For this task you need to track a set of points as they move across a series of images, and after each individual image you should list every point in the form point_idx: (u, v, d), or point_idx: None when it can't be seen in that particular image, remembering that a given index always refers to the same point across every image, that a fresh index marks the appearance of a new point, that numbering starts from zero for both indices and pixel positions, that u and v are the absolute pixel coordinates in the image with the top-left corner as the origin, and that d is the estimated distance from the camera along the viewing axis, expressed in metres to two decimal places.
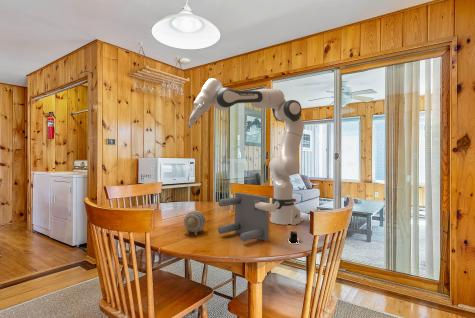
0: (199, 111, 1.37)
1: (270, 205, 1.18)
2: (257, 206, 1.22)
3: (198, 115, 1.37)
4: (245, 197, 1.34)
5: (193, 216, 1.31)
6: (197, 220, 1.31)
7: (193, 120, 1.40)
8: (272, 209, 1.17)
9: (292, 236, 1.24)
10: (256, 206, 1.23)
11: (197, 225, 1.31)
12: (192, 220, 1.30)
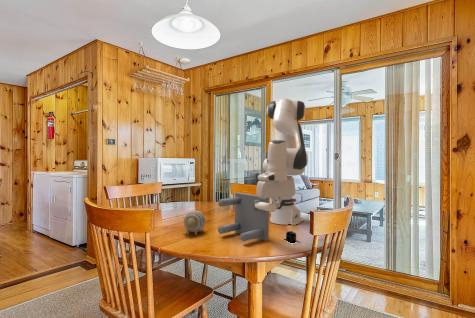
0: None
1: (270, 205, 1.18)
2: (257, 206, 1.22)
3: None
4: (245, 197, 1.34)
5: (193, 216, 1.31)
6: (197, 220, 1.31)
7: None
8: (272, 209, 1.17)
9: (292, 236, 1.23)
10: (256, 206, 1.23)
11: (197, 225, 1.31)
12: (192, 220, 1.30)
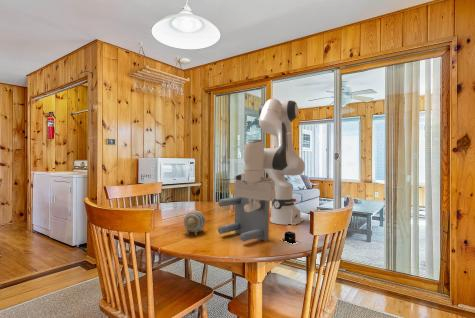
0: (273, 192, 1.10)
1: None
2: None
3: (274, 197, 1.10)
4: None
5: (193, 216, 1.31)
6: (197, 220, 1.31)
7: (256, 202, 1.15)
8: (245, 209, 1.17)
9: (292, 236, 1.23)
10: None
11: (197, 225, 1.31)
12: (192, 220, 1.30)
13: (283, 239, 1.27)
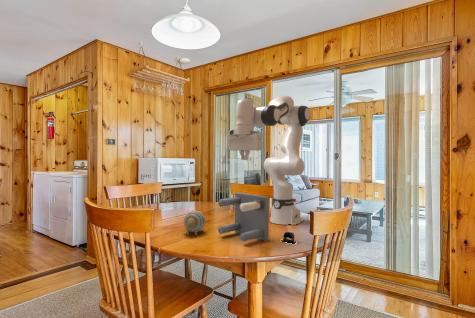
0: (260, 143, 1.25)
1: None
2: None
3: (261, 147, 1.25)
4: (245, 197, 1.34)
5: (193, 216, 1.31)
6: (197, 220, 1.31)
7: (247, 153, 1.30)
8: (241, 208, 1.19)
9: (292, 237, 1.23)
10: None
11: (197, 225, 1.31)
12: (192, 220, 1.30)
13: (281, 240, 1.25)
